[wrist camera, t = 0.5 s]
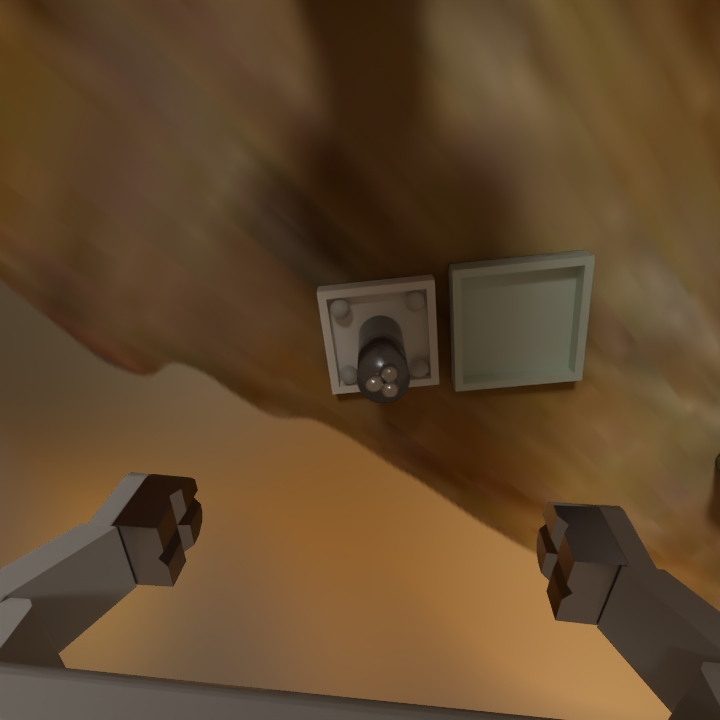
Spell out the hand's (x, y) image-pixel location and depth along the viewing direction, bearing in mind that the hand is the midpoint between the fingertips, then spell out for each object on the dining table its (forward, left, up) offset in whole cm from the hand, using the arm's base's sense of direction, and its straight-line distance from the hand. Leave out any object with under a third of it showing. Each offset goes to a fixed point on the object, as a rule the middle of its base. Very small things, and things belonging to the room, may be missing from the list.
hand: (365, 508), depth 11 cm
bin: (+15, +17, -47) cm, 52 cm away
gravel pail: (+15, 0, -46) cm, 48 cm away
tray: (+15, 0, -47) cm, 49 cm away
